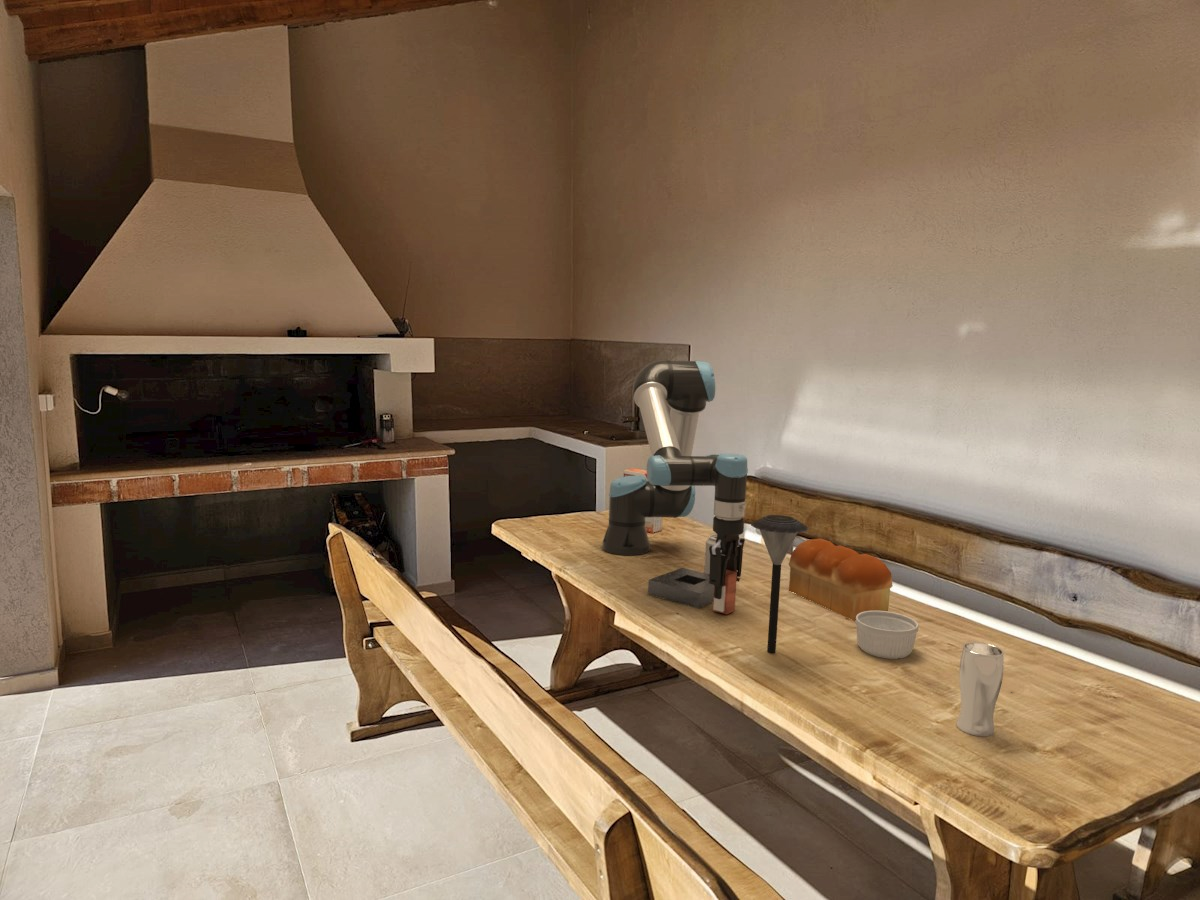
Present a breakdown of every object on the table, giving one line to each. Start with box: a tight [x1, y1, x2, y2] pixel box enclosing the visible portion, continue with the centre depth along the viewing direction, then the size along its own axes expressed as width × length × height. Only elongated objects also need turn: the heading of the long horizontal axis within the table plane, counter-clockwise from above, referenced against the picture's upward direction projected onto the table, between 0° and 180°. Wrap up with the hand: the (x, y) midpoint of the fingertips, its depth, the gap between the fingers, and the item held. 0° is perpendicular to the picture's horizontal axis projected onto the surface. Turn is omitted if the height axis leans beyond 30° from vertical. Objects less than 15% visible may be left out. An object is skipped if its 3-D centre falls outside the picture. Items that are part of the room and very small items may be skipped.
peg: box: [712, 570, 738, 615], centre depth 202 cm, size 4×4×10 cm
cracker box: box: [623, 467, 663, 534], centre depth 286 cm, size 14×6×21 cm, turn 50°
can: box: [703, 533, 723, 574], centre depth 231 cm, size 8×8×12 cm
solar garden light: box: [750, 514, 809, 654], centre depth 176 cm, size 12×12×30 cm
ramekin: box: [854, 610, 919, 660], centre depth 181 cm, size 13×13×7 cm
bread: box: [788, 537, 893, 621], centre depth 212 cm, size 25×12×15 cm, turn 27°
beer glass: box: [956, 641, 1005, 738], centre depth 144 cm, size 7×7×15 cm
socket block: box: [647, 567, 714, 609], centre depth 215 cm, size 16×16×4 cm
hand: (723, 607), depth 202 cm, fingers closed on peg, 4 cm apart
